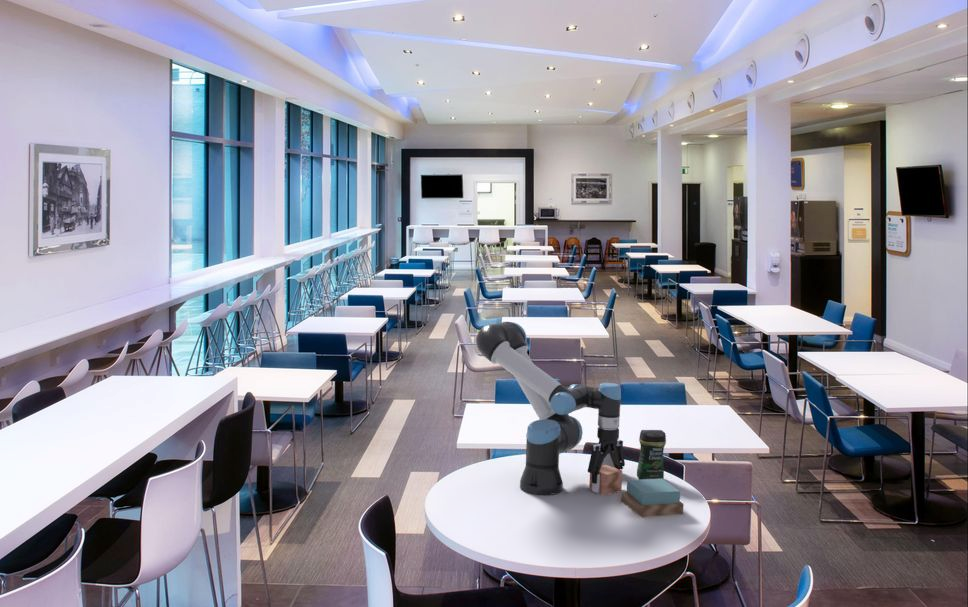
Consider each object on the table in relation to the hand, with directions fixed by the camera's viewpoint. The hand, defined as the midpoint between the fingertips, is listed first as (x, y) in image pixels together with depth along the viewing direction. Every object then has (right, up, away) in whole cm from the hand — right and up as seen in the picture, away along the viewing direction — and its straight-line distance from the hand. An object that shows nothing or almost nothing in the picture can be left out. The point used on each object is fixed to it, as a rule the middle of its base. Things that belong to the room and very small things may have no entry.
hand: (605, 489), depth 278 cm
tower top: (+13, +1, -16) cm, 21 cm away
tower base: (+13, -3, -16) cm, 21 cm away
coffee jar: (+19, 0, +14) cm, 23 cm away
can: (+4, +1, +21) cm, 21 cm away
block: (0, 0, 0) cm, 0 cm away
